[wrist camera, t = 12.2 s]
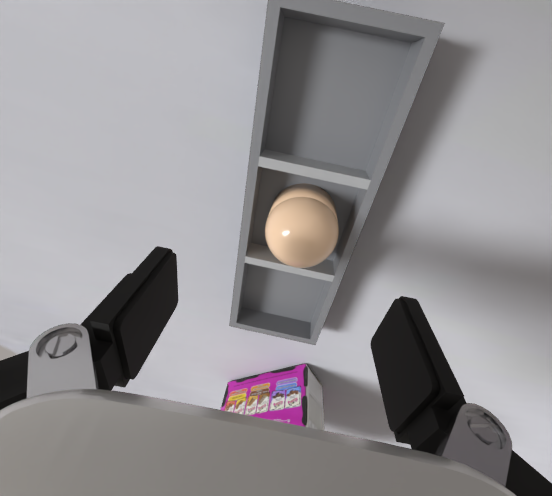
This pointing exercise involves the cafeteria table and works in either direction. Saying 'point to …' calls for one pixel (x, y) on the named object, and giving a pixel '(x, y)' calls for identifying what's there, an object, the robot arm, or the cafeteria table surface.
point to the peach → (302, 226)
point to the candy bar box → (279, 397)
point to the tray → (322, 144)
